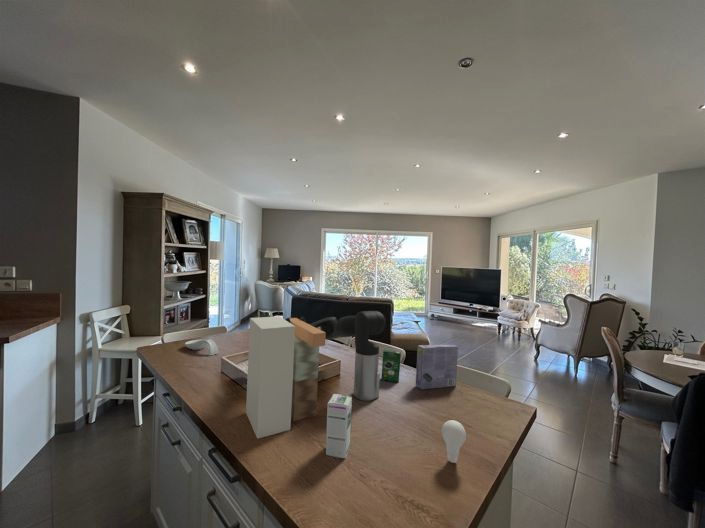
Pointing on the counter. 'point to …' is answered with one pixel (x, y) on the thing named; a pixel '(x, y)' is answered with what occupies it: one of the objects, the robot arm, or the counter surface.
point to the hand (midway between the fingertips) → (296, 319)
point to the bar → (308, 333)
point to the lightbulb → (453, 438)
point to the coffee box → (391, 365)
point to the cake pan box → (436, 366)
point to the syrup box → (338, 425)
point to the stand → (270, 375)
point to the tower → (304, 380)
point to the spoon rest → (202, 345)
